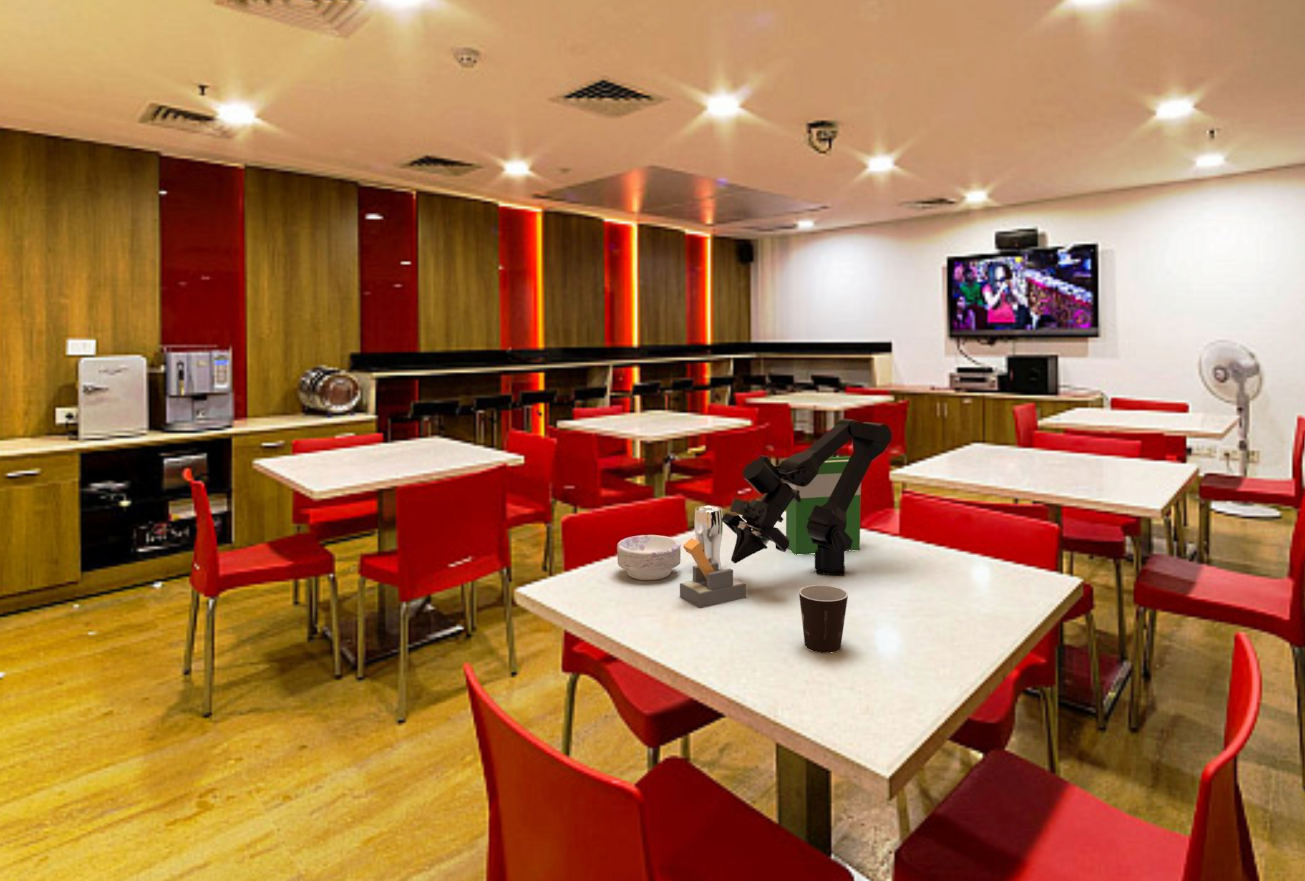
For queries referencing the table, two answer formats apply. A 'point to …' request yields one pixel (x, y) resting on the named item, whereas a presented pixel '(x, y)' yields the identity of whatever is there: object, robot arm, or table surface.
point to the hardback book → (819, 495)
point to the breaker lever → (698, 556)
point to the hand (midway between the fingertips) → (733, 561)
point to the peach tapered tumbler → (709, 531)
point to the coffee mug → (823, 617)
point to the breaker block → (712, 587)
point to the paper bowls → (648, 556)
